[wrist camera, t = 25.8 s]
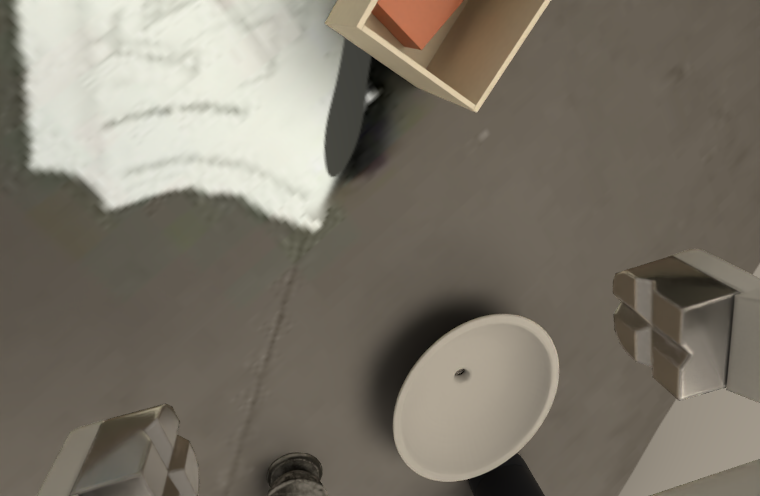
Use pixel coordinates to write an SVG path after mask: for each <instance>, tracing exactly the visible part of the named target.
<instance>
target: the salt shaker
mask: <svg viewBox="0 0 760 496" xmlns="http://www.w3.org/2000/svg"><path fill="white" fill-rule="evenodd" d="M321 477H322V466H321V464H320V462H319V461H318V460H317V459H316V458H315V457H313V456H312V455H309V454H305V453H291V454H287V455H284V456H282V457H280V458H279V459H277V460H276V461H275V462H274V463H273V464H272V465H271V466H270V468H269V470H268V473H267V481H268V483H269V486H270V487H271V488H270V490H269V492H268V495H267V496H328V493H327V491H326V489H325V488H324V487H323V485H322V483H321V482H320V480H321Z"/></svg>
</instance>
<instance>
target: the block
mask: <svg viewBox="0 0 760 496" xmlns="http://www.w3.org/2000/svg"><path fill="white" fill-rule="evenodd" d="M463 1H464V0H378V1H377V3H376V5H375V7H374V8H373V10H372V12H371V13H372V14H373V15H374V16H375V17H376V18H377V19H378V20H379V21H380V22H381V23H382V24H383V25H384V26H385V27H386V28H387V29H388V30H389V31H390V32H391V33H392V35H393V36H394V37H395V38H396V39H397V40H398V41H399V42H400V43H401V44H402V45H403V46H404V47H409V48H414V49H419V50H422V49H423V48H424V47H425V46H426V45H427V43H428V42H429V41H430V40H431V39H432V38H433V36H434V35H435V34H436V33H437V32H438V30H439V29H440V28H441V27H442V26H443V25H444V23H445V22H446V21H447V20H448V19H449V17H450V16H451V15H452V14H453V13H454V12H455V10H456V9H457V8H458V7H459V6H460V4H461V3H462V2H463Z"/></svg>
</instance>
